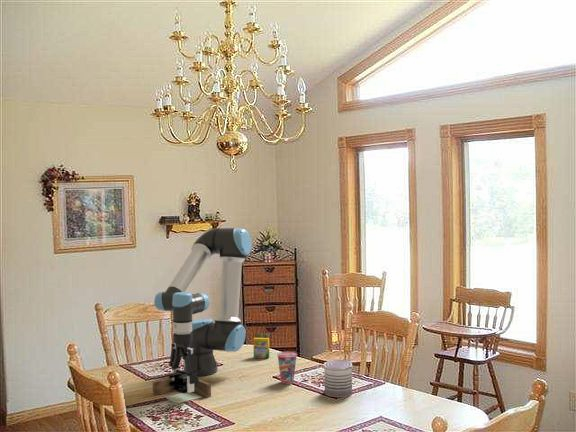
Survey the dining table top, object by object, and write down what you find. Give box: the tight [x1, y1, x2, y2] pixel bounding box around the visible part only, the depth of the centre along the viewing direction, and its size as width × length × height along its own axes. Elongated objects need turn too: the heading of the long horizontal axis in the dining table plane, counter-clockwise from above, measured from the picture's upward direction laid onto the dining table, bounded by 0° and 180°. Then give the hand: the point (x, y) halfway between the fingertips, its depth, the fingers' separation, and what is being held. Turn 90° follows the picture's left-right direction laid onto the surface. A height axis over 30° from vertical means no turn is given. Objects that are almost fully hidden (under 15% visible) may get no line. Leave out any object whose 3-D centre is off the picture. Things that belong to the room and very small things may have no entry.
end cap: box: [168, 370, 199, 394], centre depth 251 cm, size 10×7×7 cm
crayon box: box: [253, 333, 270, 360], centre depth 311 cm, size 7×3×12 cm, turn 80°
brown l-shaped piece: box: [152, 378, 212, 398], centre depth 254 cm, size 16×18×5 cm
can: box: [323, 359, 353, 398], centre depth 255 cm, size 11×11×12 cm
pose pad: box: [165, 392, 202, 404], centre depth 252 cm, size 11×9×1 cm
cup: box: [277, 351, 298, 385], centre depth 270 cm, size 9×8×12 cm
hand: (183, 388), depth 251 cm, fingers closed on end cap, 10 cm apart
